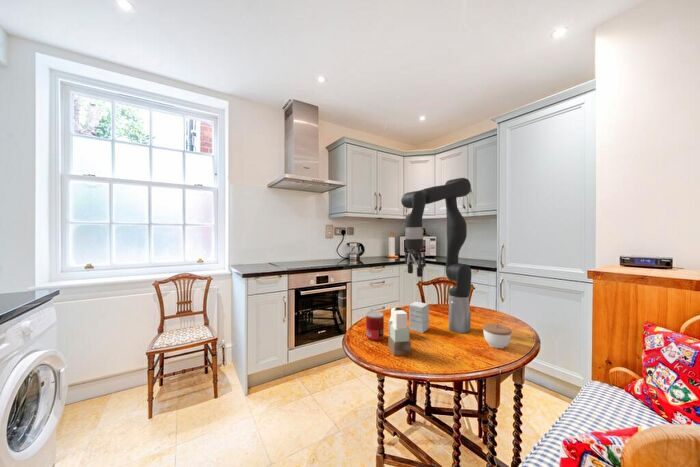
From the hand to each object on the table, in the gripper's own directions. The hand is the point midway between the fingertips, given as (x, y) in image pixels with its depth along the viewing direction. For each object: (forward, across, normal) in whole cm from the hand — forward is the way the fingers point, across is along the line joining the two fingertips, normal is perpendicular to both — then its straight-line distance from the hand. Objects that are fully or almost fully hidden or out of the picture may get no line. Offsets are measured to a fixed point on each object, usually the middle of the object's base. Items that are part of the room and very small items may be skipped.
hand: (414, 274), depth 111 cm
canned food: (+30, +10, +16) cm, 35 cm away
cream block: (+20, -4, +10) cm, 23 cm away
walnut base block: (+30, -5, +10) cm, 32 cm away
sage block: (+25, -4, +10) cm, 27 cm away
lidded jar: (+32, -10, -33) cm, 47 cm away
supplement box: (+31, +14, -9) cm, 35 cm away
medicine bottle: (+30, +12, +4) cm, 33 cm away
